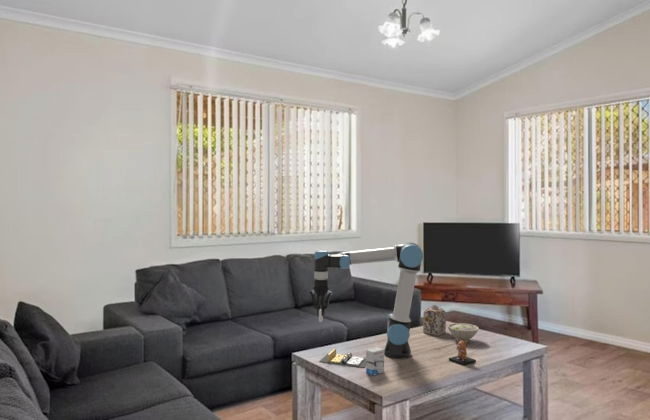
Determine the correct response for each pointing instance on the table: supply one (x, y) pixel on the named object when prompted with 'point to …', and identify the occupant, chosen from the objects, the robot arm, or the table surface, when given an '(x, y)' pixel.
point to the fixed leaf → (352, 360)
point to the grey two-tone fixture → (325, 360)
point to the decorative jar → (434, 320)
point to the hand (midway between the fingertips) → (320, 321)
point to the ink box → (374, 361)
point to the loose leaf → (335, 357)
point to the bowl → (462, 331)
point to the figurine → (462, 355)
